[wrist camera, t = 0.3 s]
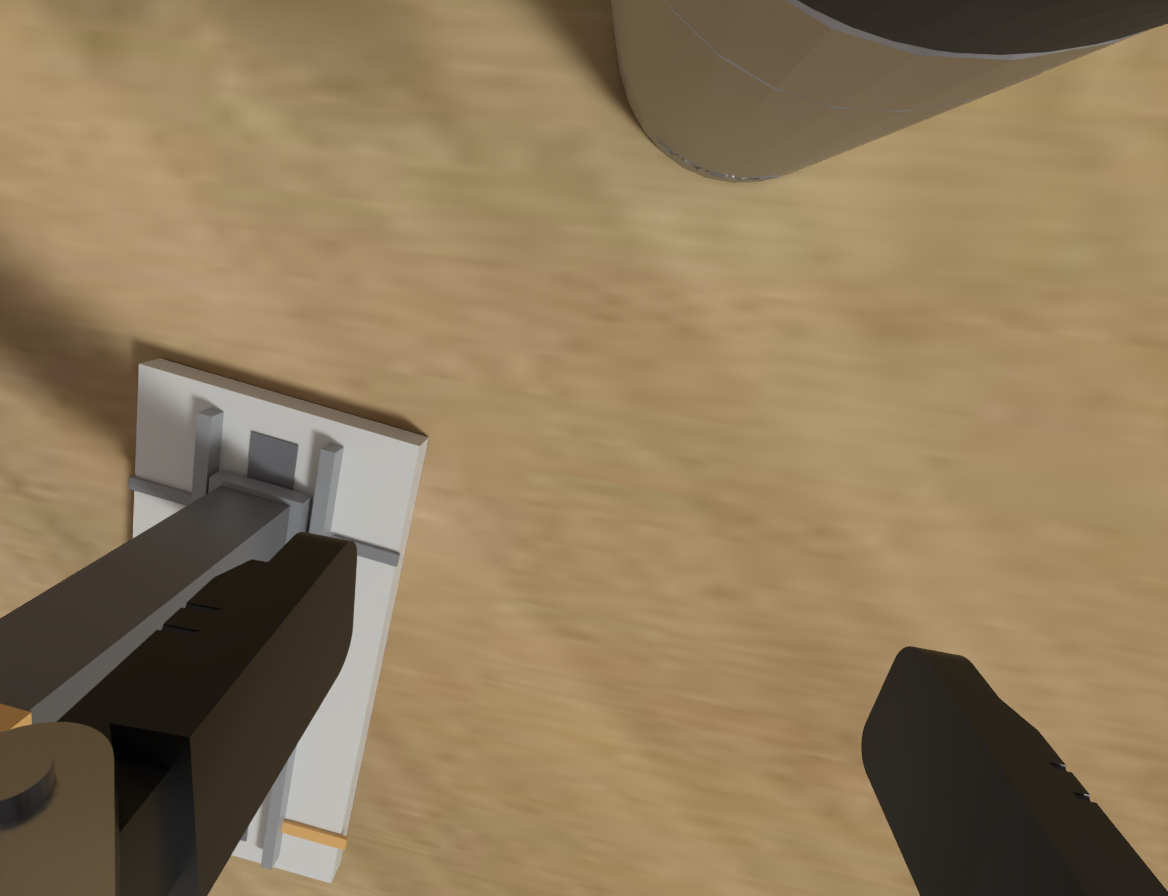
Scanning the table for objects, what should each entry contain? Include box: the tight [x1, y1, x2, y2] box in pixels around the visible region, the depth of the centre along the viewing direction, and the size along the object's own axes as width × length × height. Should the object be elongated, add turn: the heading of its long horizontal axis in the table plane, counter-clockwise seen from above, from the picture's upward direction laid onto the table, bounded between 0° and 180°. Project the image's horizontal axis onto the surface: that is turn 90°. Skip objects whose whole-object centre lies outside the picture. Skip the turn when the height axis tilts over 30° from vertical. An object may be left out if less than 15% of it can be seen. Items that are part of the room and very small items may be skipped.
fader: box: [0, 470, 312, 732], centre depth 21 cm, size 4×4×14 cm
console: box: [129, 358, 429, 883], centre depth 31 cm, size 27×13×2 cm, turn 164°
